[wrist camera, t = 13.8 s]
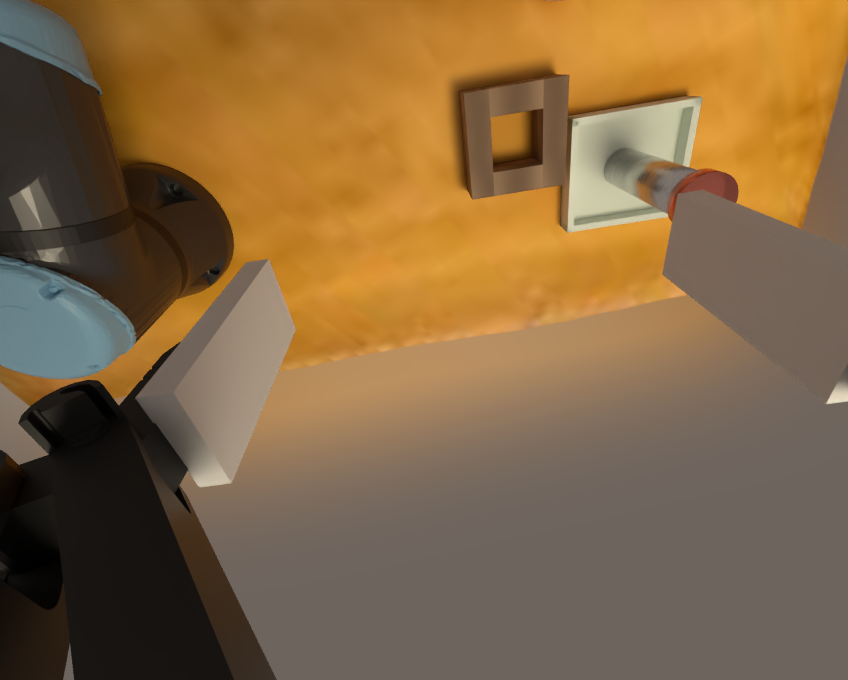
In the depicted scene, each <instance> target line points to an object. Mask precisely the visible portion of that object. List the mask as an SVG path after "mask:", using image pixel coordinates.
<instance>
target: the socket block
mask: <svg viewBox="0 0 848 680" xmlns="http://www.w3.org/2000/svg"><path fill="white" fill-rule="evenodd" d="M568 94H569V75H557V74H556V75H550V76H545V77H539V78H533V79H527V80H522V81H516V82H510V83H505V84H499V85H493V86H488V87H482V88H476V89H471V90H465V91H459V97H460V108H461V120H462V131H463V143H464V154H465V166H466V177H467V189H468V192H469V194H470V196H471V198H472V200H473V199H479V198H485V197H491V196H497V195H503V194H509V193H516V192H522V191H528V190H534V189H540V188H546V187H552V186H559V185H565V169H566V144H567V119H568ZM530 110H533V158H528V159H522V160H516V161H510V162H504V163H498V164H493V160H492V141H491V122H490V117H495V116H501V115H507V114H513V113H518V112H524V111H530Z"/></svg>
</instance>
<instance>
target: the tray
mask: <svg viewBox="0 0 848 680" xmlns="http://www.w3.org/2000/svg"><path fill="white" fill-rule="evenodd" d="M702 98H703V97H697V96H683V97H677V98H671V99H665V100H659V101H653V102H648V103H642V104H636V105H630V106H624V107H618V108H612V109H607V110H601V111H595V112H589V113H583V114H577V115H571V116H568V119H567V144H566V169H565V185H562V196H561V223H560V226H561V227H562V228H563V229H564V230H565V231H566V232H567V233H568V232H575V231H581V230H587V229H594V228H600V227H606V226H613V225H619V224H626V223H632V222H638V221H645V220H651V219H657V218H664V217H668V214H666V213H664V212H662V211H661V210H659V209H657V208H655V207H653V206H651V205H649V204H647V203H646V202H644V201H642V200H640V199H638V198H636V197H634V196H632V195H631V194H629V193H627V192H625V191H623V190H621V189H619V188H617V187H616V186H614V185H612V184H610V183H609V182H608V181H607V180H606V179H605V176H604V167H605V164H606V162H607V160H608V158H609V157H610V156H611V155H612V154H613V153H614V152H615V151H617V150H619V149H622V148H632V149H635V150H638V151H641V152H644V153H647V154H650V155H653V156H656V157H659V158H662V159H665V160H668V161H671V162H674V163H677V164H680V165H683V166H686V167H689V164H690V159H691V153H692V148H693V143H694V138H695V133H696V128H697V123H698V118H699V113H700V108H701V103H702Z"/></svg>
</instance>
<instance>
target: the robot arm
mask: <svg viewBox="0 0 848 680" xmlns="http://www.w3.org/2000/svg"><path fill="white" fill-rule="evenodd" d="M101 95H102V90H101V88H100V86H99V85H98V83H97V82H96V81H95V79H94V77H93V74H92V71H91V68H90V65H89V62H88V59H87V56H86V53H85V50H84V47H83V44H82V42H81V40H80V38H79V36H78V34H77V33H76V31H75V30H74V29H73V28H72V27H71V26H70V25H69V23H68V22H67V21H66V20H65V19H64V18H62V17H61V16H59V15H58V14H56V13H55V12H53V11H52V10H50V9H48V8H46V7H44V6H42V5H40V4H37V3H35V2H32V1H30V0H0V365H2V366H4V367H6V368H8V369H11V370H14V371H17V372H20V373H24V374H27V375H32V376H37V377H43V378H52V379H73V378H80V377H85V376H89V375H92V374H95V373H97V372H99V371H101V370H103V369H104V368H106V367H107V366H109V365H110V364H111V363H112V362H113V361H114V360H116V359H117V358H118V357H119V356H120V355H122V354H124V353H126V352H128V351H129V349H131V348H132V347H133V345H134V344H135V343H136V342H137V341H138V340H139V339H140V337H141V336H142V335H143V334H144V333H145V332H146V331H147V330H148V329H149V328H150V327H151V326H152V325H153V324H154V323H155V321H156V320H157V319H158V318H159V317H160V316H161V315H162V314H163V313H164V312H165V311H166V310H167V309H168V308H169V307H170V305H171V304H172V303H173V302H174V301H175V300H176V299H179V298H183V297H186V296H189V295H193V294H196V293H199V292H201V291H203V290H205V289H207V288H209V287H210V286H212V285H213V284H214V283H215V282H216V281H217V280H218V279H219V278H220V277H221V276H222V275H223V274H224V272H225V271H226V270H227V268H228V267H229V265H230V262H231V259H232V256H233V249H234V242H233V234H232V230H231V227H230V224H229V221H228V219H227V217H226V215H225V213H224V211H223V210H222V208H221V207H220V205H219V204H218V203H217V201H216V200H215V199H214V198H213V197H212V195H211V194H210V193H209V192H208V191H207V190H206V189H204V188H203V187H202V186H201V185H200V184H198V183H197V182H196V181H194V180H193V179H191V178H190V177H188V176H186V175H184V174H183V173H181V172H178V171H176V170H174V169H171V168H168V167H165V166H161V165H155V164H133V165H129V166H126V167H123V168H121V167H120V163H119V160H118V157H117V153H116V150H115V146H114V143H113V140H112V136H111V133H110V130H109V126H108V123H107V120H106V116H105V113H104V110H103V106H102V103H101V100H100V96H101ZM663 275H664V276H665V277H666V278H668V279H669V280H670V281H671V282H673V283H674V284H675V285H676V286H678V287H679V288H680V289H681V290H683V291H684V292H685V293H686V294H688V295H689V296H690V297H692V298H693V299H694V300H695V301H697V302H698V303H699V304H700V305H702V306H703V307H704V308H705V309H707V310H708V311H709V312H710V313H712V314H713V315H714V316H716V317H717V318H718V319H719V320H721V321H722V322H723V323H724V324H726V325H727V326H728V327H730V328H731V329H732V330H733V331H734V332H736V333H737V334H738V335H740V336H741V337H742V338H743V339H744V340H746V341H747V342H749V343H750V344H751V345H752V346H753V347H755V348H756V349H757V350H758V351H760V352H761V353H762V354H764V355H765V356H766V357H767V358H768V359H770V360H771V361H772V362H773V363H775V364H776V365H777V366H779V367H780V368H781V369H782V370H784V371H785V372H786V373H787V374H789V375H790V376H791V377H793V378H794V379H795V380H796V381H798V382H799V383H800V384H801V385H803V386H804V387H805V388H807V389H808V390H809V391H810V392H811V393H813V394H814V395H815V396H816V397H818V398H819V399H820V400H821V401H823V402H824V403H825V404H830V403H837V402H845V401H848V248H846V247H844V246H841V245H839V244H836V243H834V242H831V241H829V240H826V239H824V238H821V237H819V236H816V235H814V234H811V233H809V232H807V231H804V230H802V229H799V228H797V227H794V226H792V225H789V224H787V223H784V222H782V221H779V220H777V219H774V218H772V217H769V216H767V215H764V214H762V213H759V212H757V211H754V210H752V209H749V208H747V207H744V206H742V205H739V204H737V203H734V202H732V201H729V200H727V199H724V198H722V197H720V196H717V195H715V194H712V193H710V192H707V191H705V190H698V191H692V192H685V193H679V194H677V200H676V205H675V210H674V216H673V221H672V226H671V231H670V237H669V242H668V247H667V252H666V258H665V263H664V268H663ZM295 330H296V329H295V326H294V324H293V321H292V318H291V316H290V313H289V311H288V308H287V305H286V303H285V300H284V297H283V295H282V292H281V290H280V287H279V284H278V282H277V279H276V277H275V274H274V271H273V269H272V266H271V263H270V261H269V259H265V260H259V261H253V262H247V263H245V265H244V266H243V267H242V268H241V269H240V271H239V272H238V273H237V274H236V276H235V277H234V278H233V279H232V280H231V282H230V283H229V284H228V285H227V286H226V288H225V289H224V290H223V291H222V293H221V294H220V295H219V296H218V297H217V299H216V300H215V301H214V302H213V304H212V305H211V306H210V307H209V308H208V310H207V311H206V312H205V313H204V315H203V316H202V317H201V318H200V319H199V321H198V322H197V323H196V324H195V326H194V327H193V328H192V329H191V330H190V332H189V333H188V334H187V335H186V336H185V338H184V339H183V340H182V341H181V342H179V343H178V344H176V345H175V346H174V347H172V348H171V349H169V350H168V351H167V352H165V353H164V354H163V355H162V356H161V357H160V358H159V359H158V361H157V362H156V363H155V364H154V365H153V366H152V370H149V371H148V372H147V373H146V375H145V376H144V377H143V380H141V381H140V382H139V383H138V384H137V385H136V386H135V388H134V389H133V390H132V391H131V392H130V394H129V395H128V396H127V397H126V398H125V399H124V401H123V402H122V403H121V404H120V405H118V404H117V403H116V402H115V400H114V399H113V398H112V396H111V395H110V394H109V392H108V391H107V390H106V388H105V387H104V386H103V384H101V383H100V382H99V381H97V380H86V381H81V382H76V383H73V384H70V385H68V386H65V387H62V388H60V389H58V390H56V391H54V392H52V393H50V394H48V395H46V396H44V397H43V398H41V399H40V400H39V401H37V402H36V403H34V404H33V405H31V406H30V407H29V408H28V410H27V411H25V412H24V413H23V415H22V416H21V418H20V421H19V424H20V426H21V427H22V428H23V429H24V430H25V431H26V432H27V433H28V434H29V435H30V436H31V437H32V438H33V439H34V440H35V441H36V442H37V443H38V444H39V445H40V446H41V447H42V448H43V449H44V450H45V451H46V452H47V453H48V454H49V455H47V456H44V457H41V458H38V459H35V460H32V461H29V462H27V463H23V464H21V465H18V464H17V463H16V462H15V461H14V460H13V459H12V458H11V457H10V456H9V455H7V454H6V453H5V452H3V451H2V450H0V680H63V677H64V671H65V666H66V661H67V655H68V650H69V644H70V646H71V655H72V664H73V673H74V680H276V678H275V676H274V673H273V672H272V669H271V667H270V665H269V663H268V661H267V659H266V657H265V655H264V653H263V651H262V649H261V647H260V645H259V643H258V641H257V639H256V637H255V634H254V632H253V630H252V628H251V626H250V624H249V622H248V620H247V618H246V616H245V614H244V612H243V610H242V608H241V606H240V604H239V602H238V600H237V598H236V595H235V593H234V592H233V589H232V587H231V585H230V583H229V581H228V579H227V577H226V575H225V573H224V571H223V569H222V567H221V565H220V563H219V561H218V559H217V556H216V555H215V552H214V551H213V548H212V546H211V544H210V542H209V540H208V538H207V536H206V534H205V532H204V530H203V528H202V526H201V524H200V522H199V520H198V518H197V516H196V514H195V511H194V509H193V507H192V506H191V503H190V501H189V499H188V497H187V495H186V494H185V492H184V491H183V490H182V488H181V487H180V486H179V485H180V483H181V481H182V479H183V478H184V476H185V474H186V472H187V471H188V472H189V473H190V475H191V476H192V478H193V479H194V481H195V482H196V483H197V485H198V486H199V487H206V486H213V485H220V484H228V483H232V481H233V478H234V476H235V474H236V471H237V469H238V467H239V464H240V462H241V459H242V457H243V455H244V452H245V450H246V447H247V445H248V443H249V440H250V438H251V435H252V433H253V431H254V428H255V426H256V423H257V421H258V419H259V416H260V414H261V411H262V409H263V406H264V404H265V402H266V400H267V397H268V395H269V392H270V390H271V388H272V385H273V383H274V380H275V378H276V376H277V373H278V371H279V368H280V366H281V364H282V361H283V359H284V356H285V354H286V352H287V349H288V347H289V344H290V342H291V340H292V337H293V335H294V333H295Z"/></svg>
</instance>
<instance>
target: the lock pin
mask: <svg viewBox="0 0 848 680" xmlns="http://www.w3.org/2000/svg"><path fill="white" fill-rule="evenodd" d="M604 176H605V179H606V180H607V181H608V182H609V183H610V184H612V185H614V186H616V187H617V188H619V189H621V190H623V191H625V192H627V193H629V194H631V195H632V196H634V197H636V198H638V199H640V200H642V201H644V202H646V203H647V204H649V205H651V206H653V207H655V208H657V209H659V210H661V211H662V212H664V213H666V214H668V217H669V218H670V220H671V221H673V216H674V210H675V205H676V200H677V194H679V193H685V192H692V191H698V190H705V191H707V192H710V193H712V194H715V195H717V196H720V197H722V198H724V199H727V200H729V201H732V202H734V203H736V201H737V198H738V185H737V182H736V181H735V179H734V178H733V177H732V176H731V175H729V174H726V173H723V172H720V171H717V170H714V169H700V170H695V169H692V168H689V167H686V166H683V165H680V164H677V163H674V162H671V161H668V160H665V159H662V158H659V157H656V156H653V155H650V154H647V153H644V152H641V151H638V150H635V149H632V148H622V149H619V150H617V151H615V152H614V153H613V154H612V155H611V156H610V157H609V158H608V160H607V162H606V164H605V167H604Z"/></svg>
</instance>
